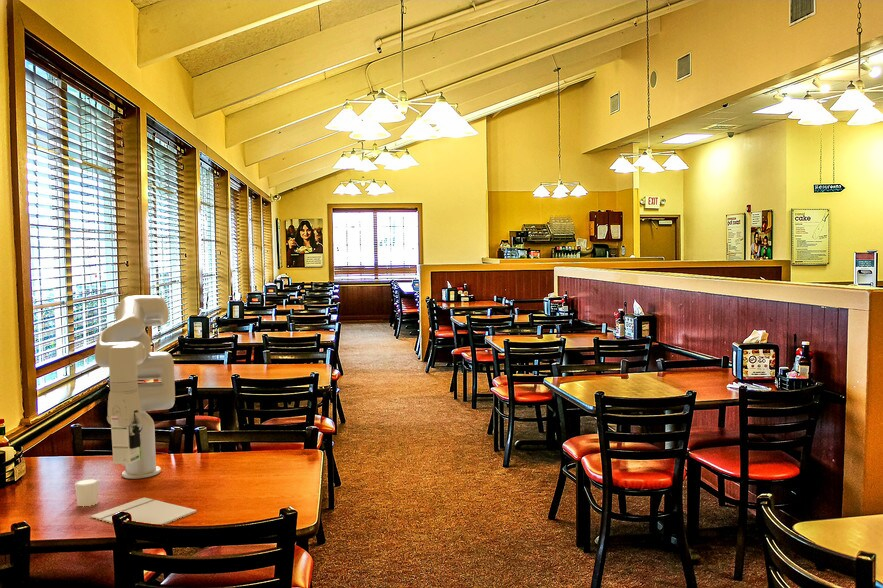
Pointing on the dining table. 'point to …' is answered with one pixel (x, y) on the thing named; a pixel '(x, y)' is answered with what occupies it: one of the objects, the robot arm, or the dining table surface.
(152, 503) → the mat
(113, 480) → the dining table surface
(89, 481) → the white short cylinder
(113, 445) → the syrup box
